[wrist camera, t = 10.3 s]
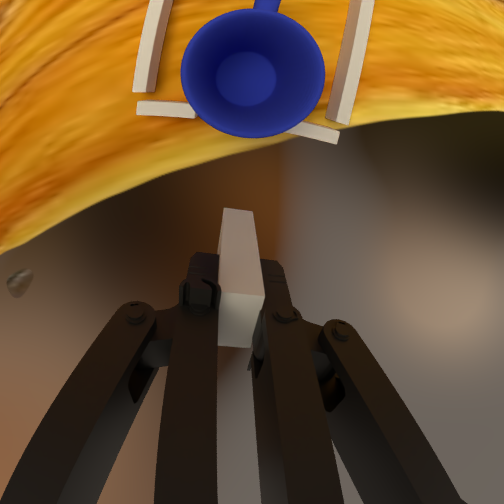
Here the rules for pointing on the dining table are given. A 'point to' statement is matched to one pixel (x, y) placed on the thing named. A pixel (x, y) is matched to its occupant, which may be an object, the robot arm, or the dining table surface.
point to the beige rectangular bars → (336, 111)
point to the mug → (253, 72)
